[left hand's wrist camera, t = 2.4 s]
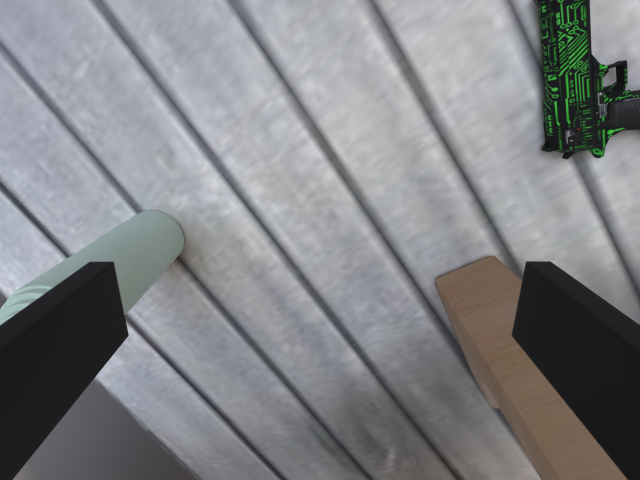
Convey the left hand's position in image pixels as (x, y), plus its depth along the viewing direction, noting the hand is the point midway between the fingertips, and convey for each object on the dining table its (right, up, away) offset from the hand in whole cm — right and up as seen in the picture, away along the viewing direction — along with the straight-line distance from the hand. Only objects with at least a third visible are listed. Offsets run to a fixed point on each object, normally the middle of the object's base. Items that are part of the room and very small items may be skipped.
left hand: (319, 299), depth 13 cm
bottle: (-19, +2, +31) cm, 37 cm away
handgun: (+28, +18, +25) cm, 42 cm away
